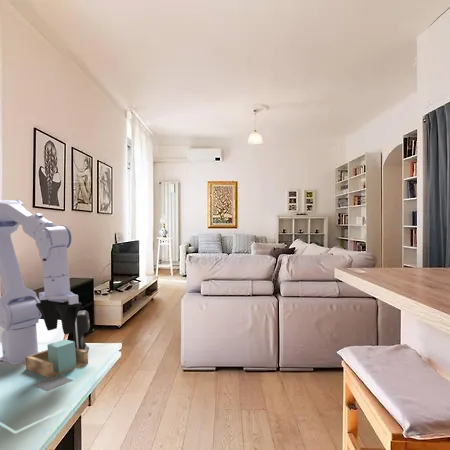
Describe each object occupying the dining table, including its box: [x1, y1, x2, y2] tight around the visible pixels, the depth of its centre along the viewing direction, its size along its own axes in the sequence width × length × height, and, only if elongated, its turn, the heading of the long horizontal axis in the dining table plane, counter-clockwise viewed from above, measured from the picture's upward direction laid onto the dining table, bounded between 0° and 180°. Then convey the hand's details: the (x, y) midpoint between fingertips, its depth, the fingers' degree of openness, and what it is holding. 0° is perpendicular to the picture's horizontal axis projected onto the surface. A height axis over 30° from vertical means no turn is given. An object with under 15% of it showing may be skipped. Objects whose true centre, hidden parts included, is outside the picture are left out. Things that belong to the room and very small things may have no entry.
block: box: [46, 339, 76, 373], centre depth 92 cm, size 4×4×6 cm
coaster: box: [33, 374, 74, 392], centre depth 83 cm, size 6×6×1 cm
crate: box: [25, 348, 89, 379], centre depth 94 cm, size 11×10×3 cm
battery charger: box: [72, 309, 91, 354], centre depth 103 cm, size 7×4×11 cm, turn 15°
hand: (60, 331), depth 92 cm, fingers open, 7 cm apart
